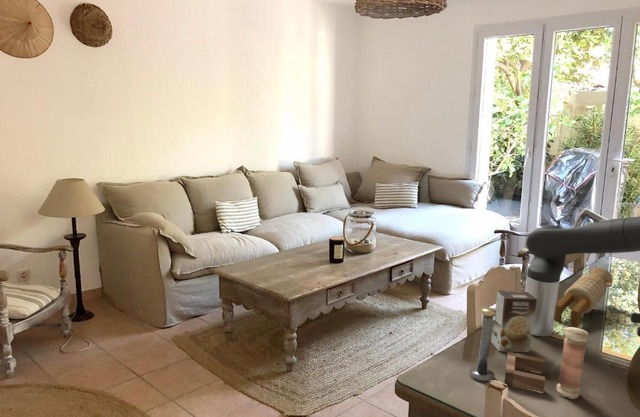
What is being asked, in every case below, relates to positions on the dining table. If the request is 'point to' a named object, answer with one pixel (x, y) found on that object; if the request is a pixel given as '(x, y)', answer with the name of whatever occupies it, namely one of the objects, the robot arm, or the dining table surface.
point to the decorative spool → (584, 294)
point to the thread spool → (572, 361)
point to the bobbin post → (484, 348)
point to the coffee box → (513, 321)
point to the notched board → (523, 378)
